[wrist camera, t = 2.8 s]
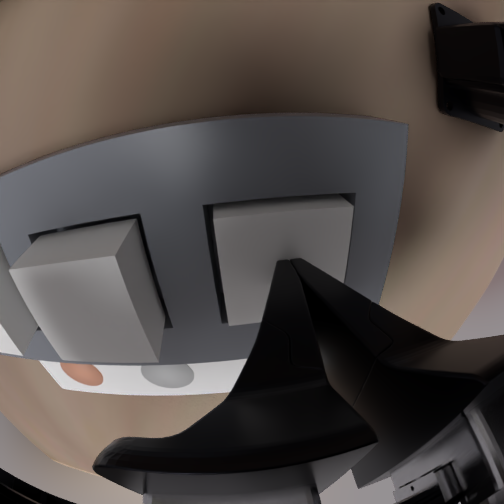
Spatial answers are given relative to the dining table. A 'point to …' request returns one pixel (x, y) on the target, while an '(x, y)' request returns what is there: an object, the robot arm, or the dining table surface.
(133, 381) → the pattern card
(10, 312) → the button
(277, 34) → the dining table surface
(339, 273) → the button
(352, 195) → the button board
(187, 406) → the dining table surface
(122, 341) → the button middle
